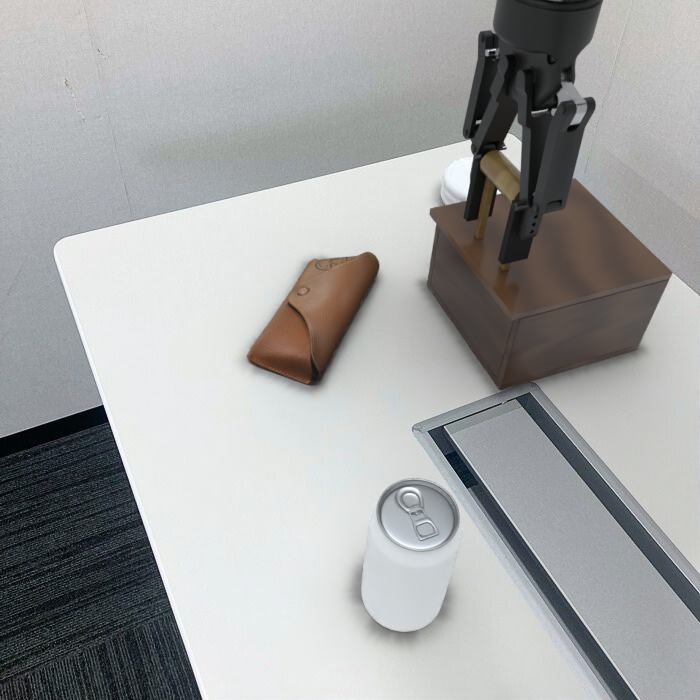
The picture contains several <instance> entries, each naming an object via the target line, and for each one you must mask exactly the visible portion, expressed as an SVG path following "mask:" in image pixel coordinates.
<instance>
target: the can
mask: <svg viewBox="0 0 700 700" xmlns="http://www.w3.org/2000/svg"><path fill="white" fill-rule="evenodd" d="M459 509H460V508H459V506H458V504H457V502H456V500H455V498H454V496H452V494H451V493H450V492H449V490H447V489H446V488H444V487H443V486H442V485H440V484H438V483H436V482H434V481H432V480H430V479H425V478H419V477H412V478H411V477H409V478H405V479H401V480H398V481H395V482H393V483H392V484H390V485H389V486H387V488H385V490H383V491H382V493H381V495H380V496H379V498H378V499H377V500H376V502H375V504H374V505H373V507H372V509H371V512H370V514H369V519H368V524H367V531H366V532H367V533H366V541H365V549H364V558H363V567H362V575H361V586H360V587H361V588H360V589H361V590H360V591H361V593H360V594H361V599H362V602H363V605H364V608H365V609H366V611H367V613H368V614H369V616H370V617H371V618H372V619H373V620H374V621H375V622H376V623H378V624H379V625H381V626H382V627H384V628H386V629H388V630H392V631H395V632H401V633H402V632H403V633H407V632H415V631H418V630H421V629H424V628H425V627H427V626H428V625H429V624H431V623H432V622H433V621H434V620H435V619H436V618H437V616H438V615H439V613H440V612H441V609H442V607H443V603H444V600H445V597H446V594H447V590H448V587H449V584H450V580H451V578H452V577H451V576H452V574H453V570H454V568H455V565H456V564H455V563H456V559H457V557H458V553H459V550H460V545H461V542H462V535H463V524H462V519H461V516H460V515H461V514H460V510H459Z"/></svg>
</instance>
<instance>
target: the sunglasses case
mask: <svg viewBox="0 0 700 700" xmlns="http://www.w3.org/2000/svg"><path fill="white" fill-rule="evenodd" d="M379 271H380V260H379V259H378V257H377V256H376V254H375V253H373V252H371V251H364V252H362V253H360V254H357V255H351V256H350V255H349V256H341V257H340V256H339V257H338V256H337V257H330V258H322V259H318V258H313V259H311V260H310V261H309V262H308V263H307V264H306V266H305V267H304V269H303V271H302V272H301V274H300V276H299V277H298V279H297V281H296V282H295V283H294V285H293V287H292V288H291V290H290V291H289V293H288V294H287V295H286V297H285V299H284V300H283V301H282V303H281V305H280V307H279V308H278V309H277V310H276V312H275V313H274V315H272V316H273V317H272V318H271V319H270V321H269V322H268V323H267V325H266V326H265V328H263V330H262V331H261V333H260V335H259V336H258V337H257V339H255V341H254V343H253V344H252V345H251V347H250V348H249V350H248V352H247V354H246V358H247V359H248V360H249V361H250V362H251V363H252V364H254V365H256V366H259V367H261V368H262V369H265V370H267V371H270V372H272V373H274V374H277V375H280V376H282V377H285V378H288V379H289V380H293V381H295V382H299V383H301V384H305V385H315V384H317V383H319V382H320V381H321V379H322V378H323V376H324V374H325V373H326V371H327V369H328V367H329V365H330V363H331V362H332V360H333V357H334V356H335V353H336V351H337V350H338V348H339V346H340V345H341V342H342V341H343V339H344V337H345V335H346V333H347V332H348V329H349V327H350V325H351V324H352V322H353V320H354V318H355V316H356V314H357V313H358V310H359V309H360V307H361V305H362V303H363V301H364V299H365V297H366V296H367V294H368V292H369V290H370V288H371V287H372V285H373V284H374V282H375V280H376V278H377V276H378V274H379Z"/></svg>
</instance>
